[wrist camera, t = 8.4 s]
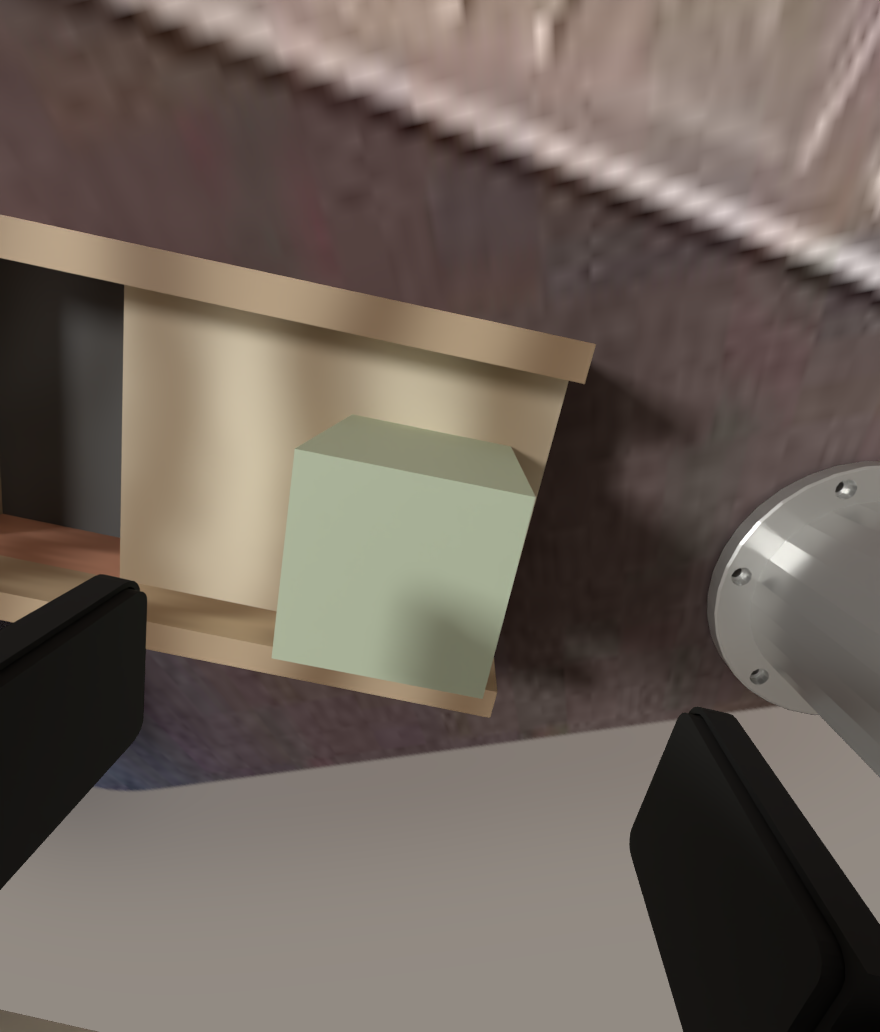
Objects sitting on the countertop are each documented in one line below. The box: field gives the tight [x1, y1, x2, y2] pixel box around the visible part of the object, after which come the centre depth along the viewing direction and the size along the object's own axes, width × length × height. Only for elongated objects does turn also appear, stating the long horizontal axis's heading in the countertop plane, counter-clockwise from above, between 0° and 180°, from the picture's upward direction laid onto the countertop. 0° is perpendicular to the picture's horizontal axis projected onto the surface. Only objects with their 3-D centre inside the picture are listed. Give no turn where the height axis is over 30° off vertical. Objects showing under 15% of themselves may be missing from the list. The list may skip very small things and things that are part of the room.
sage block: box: [272, 414, 536, 699], centre depth 17 cm, size 6×6×7 cm
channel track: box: [0, 215, 596, 718], centre depth 21 cm, size 26×14×6 cm, turn 78°
